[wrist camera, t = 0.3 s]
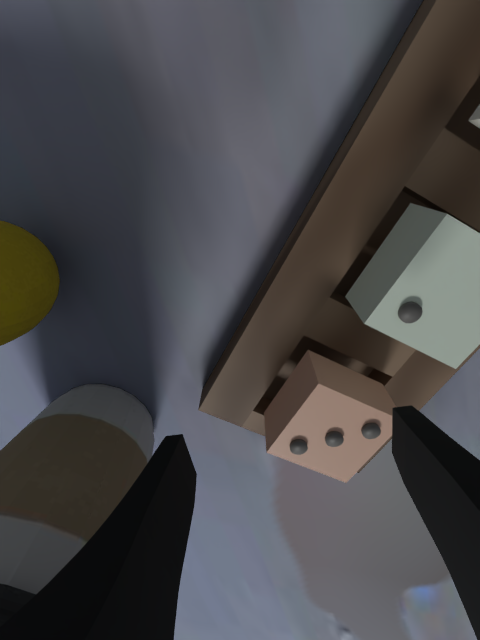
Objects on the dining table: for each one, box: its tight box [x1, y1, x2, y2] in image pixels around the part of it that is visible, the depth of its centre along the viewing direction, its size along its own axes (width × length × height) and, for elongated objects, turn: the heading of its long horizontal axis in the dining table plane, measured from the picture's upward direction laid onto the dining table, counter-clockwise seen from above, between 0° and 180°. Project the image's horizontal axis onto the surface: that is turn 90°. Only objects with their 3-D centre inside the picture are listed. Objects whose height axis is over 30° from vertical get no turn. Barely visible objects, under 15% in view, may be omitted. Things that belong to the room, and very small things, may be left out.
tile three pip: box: [264, 350, 396, 483], centre depth 18 cm, size 5×5×3 cm
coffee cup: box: [0, 384, 154, 627], centre depth 17 cm, size 11×11×15 cm
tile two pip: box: [345, 203, 480, 369], centre depth 15 cm, size 5×5×3 cm
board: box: [199, 0, 480, 473], centre depth 17 cm, size 12×26×2 cm, turn 153°
